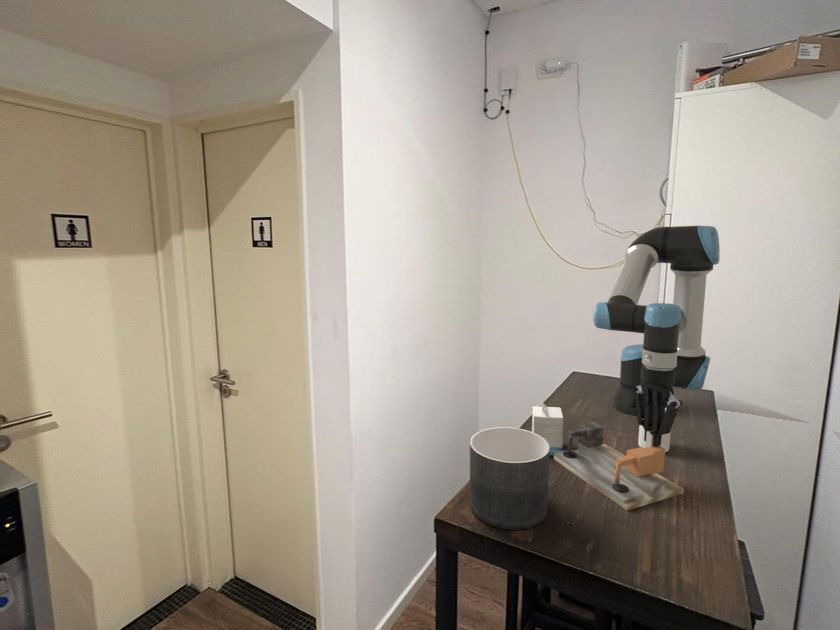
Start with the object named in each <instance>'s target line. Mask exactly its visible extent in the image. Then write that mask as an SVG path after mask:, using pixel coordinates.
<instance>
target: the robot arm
mask: <svg viewBox="0 0 840 630" xmlns="http://www.w3.org/2000/svg"><path fill="white" fill-rule="evenodd" d="M720 249H721V248H720V238H719V232H718V229H717V228H716V227H714V226H711V225H684V226H683V225H682V226H681V225H680V226H679V225H678V226H658V227H655V228H652V229H650V230H648V231H646V232H644V233H643V234H641V235H639V236H638V237H637V238H636V239H634V240H633V242H632V243H631V244H630V245H629V246H628V248H627V251H626V253H625V256H624V257H625V258H624V259H625V263H624V265H623V268H622V269H621V271H620V274H619V276H618V277H617V280H616V283H615V285H614V287H613V289H612V292H611V293H610V296H609V298H608V300H607V301H603V302H602V301H601V302H597V303H596V304H595V306H594V309H593V315H592V316H593V317H592V318H593V319H592V320H593V325H594V326H595V327H596V328H597V329H601V330H607V331H616V332H628V333H635V334H636V333H638V334H643V342H642V343H643V344H640V343H639V344H632V345H628V346H625V347H624V348H623V349H622V350H621V358H620V374H619V386H618V388H617V390H616V393H615V396H614V397H613V402H612V405H613V407H614V409H615V410H617V411H618V412H619V411H620V412H621V413H624V414H627V415H631V416H632V415H633V416H637V424H638V426H640V425H642V426H643V427H644V430H645V434H644V440H645V441H646V448H647V447H651V446H656V447H657V446H660V445H661V438H662V435H664V434H668V433H670V431H672V428H673V425H674V421H675V420H676V419H675V418H676V416H677V413H678V410H679V409H680V407H681V406H682V405H683V401H682V400H680V399H679V400H678V399H677V397H676V396H675V395H674V394H675V392H674V388H677V389H683V390H686V391H687V390H689V391H690V390H691V391H699V390H700V391H701V390H702V389H703V387H704V385H705V380H706V377H707V373H708V369H709V366H710V361H711V357H709V356H708V355H706V350H705V349H704V348H703V347H702V335H703V334H702V331H703V324H704V323H703V322H704V310H705V309H704V308H705V301H706V300H705V299H706V287H707V275H708V274H710V273H711V272H712V271H713V270H714V265H716V266H717V265H718V264H719V263H720V256H721V255H720V252H721V250H720ZM657 264H670V268H669V269H670V270H671V272H672V273H674V287H673V288H674V289H673V301H672V303H663V302H662V303H661V302H660V303H659V302H655V303H650V304H648V305H642V304H639V301H640V297H641V295H642V294H643V293H642V292H643V291H644V288H645V285H646V282H647V281H648V278H649V274H650V272H651V270H652V269H653V268H654V267H655V266H657ZM670 270H669V271H670ZM665 408H666V411H665Z"/></svg>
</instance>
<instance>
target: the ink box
mask: <svg viewBox="0 0 840 630" xmlns="http://www.w3.org/2000/svg"><path fill="white" fill-rule="evenodd" d="M562 411H563V410H562V408H561V407H559V406H558V407H556V406H555V407H554V406H547V405H546V404H545V403H544V402H543V401H540V406H538V405H536V406H535V405H534V406H532V411H531V412H532V414H531V416H532V421H531V432H533V433H535V434H538V435H539V436H541V437H543V438H544V439H545V440H546V441H547V442H548V444H549V446H550V455H549V456H552V457H554V452H559V451H563V450H564V449H563V447H564V446H563V443H564V441H563V440H564V415H563V412H562Z"/></svg>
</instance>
